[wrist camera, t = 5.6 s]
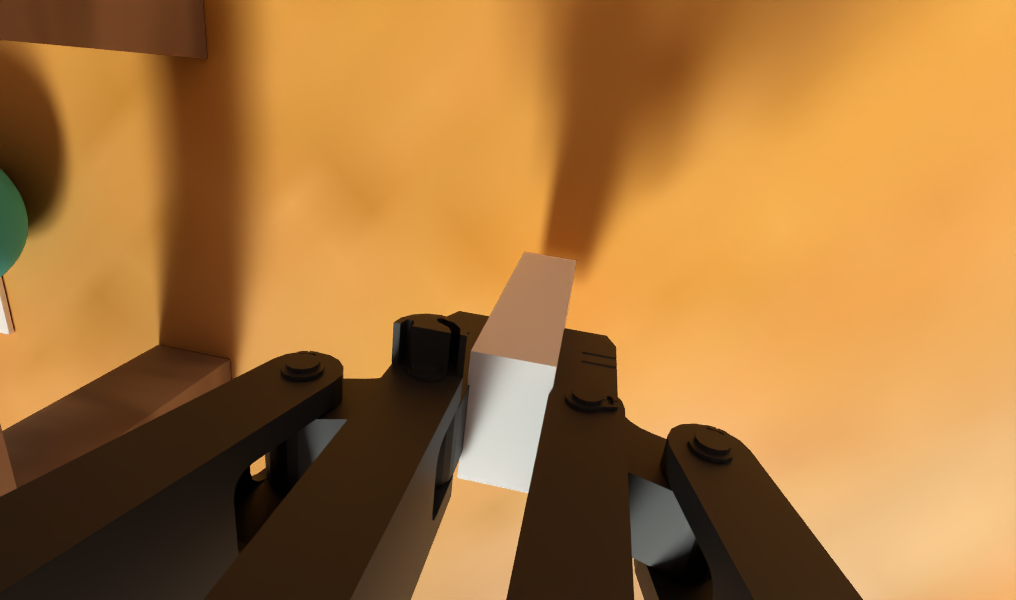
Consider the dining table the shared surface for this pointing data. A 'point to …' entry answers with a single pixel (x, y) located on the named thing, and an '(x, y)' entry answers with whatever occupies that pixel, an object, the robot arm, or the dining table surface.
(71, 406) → the bridge
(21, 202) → the ball
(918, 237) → the dining table surface
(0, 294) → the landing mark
